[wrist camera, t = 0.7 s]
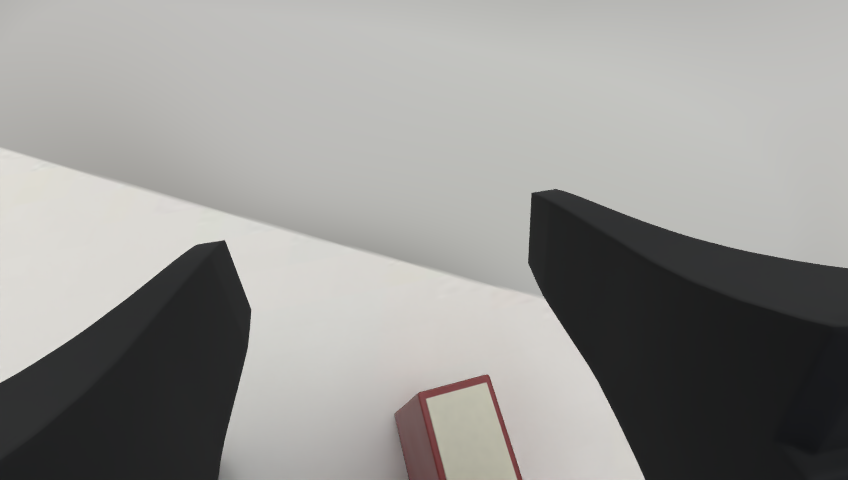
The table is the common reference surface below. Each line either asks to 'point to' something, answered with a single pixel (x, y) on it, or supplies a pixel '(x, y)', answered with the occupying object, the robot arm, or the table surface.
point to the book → (456, 434)
